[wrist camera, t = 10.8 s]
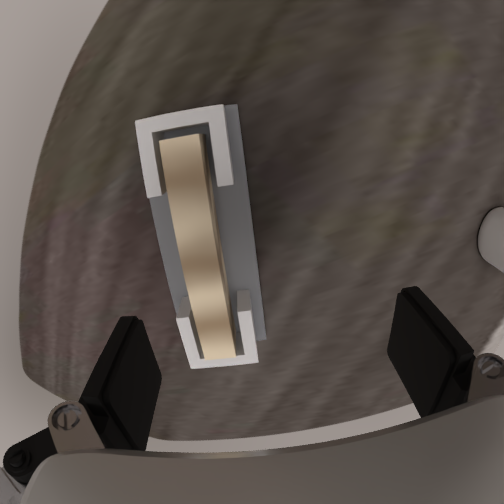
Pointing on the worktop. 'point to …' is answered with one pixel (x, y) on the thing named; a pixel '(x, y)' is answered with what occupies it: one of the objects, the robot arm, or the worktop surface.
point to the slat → (199, 242)
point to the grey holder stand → (228, 216)
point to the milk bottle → (493, 238)
